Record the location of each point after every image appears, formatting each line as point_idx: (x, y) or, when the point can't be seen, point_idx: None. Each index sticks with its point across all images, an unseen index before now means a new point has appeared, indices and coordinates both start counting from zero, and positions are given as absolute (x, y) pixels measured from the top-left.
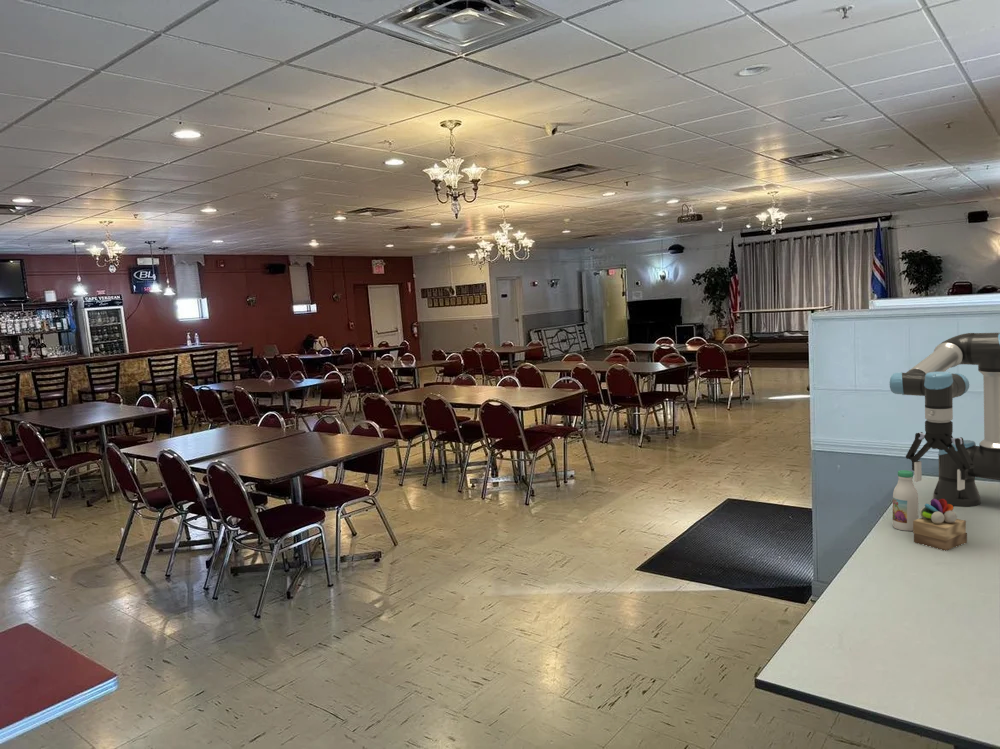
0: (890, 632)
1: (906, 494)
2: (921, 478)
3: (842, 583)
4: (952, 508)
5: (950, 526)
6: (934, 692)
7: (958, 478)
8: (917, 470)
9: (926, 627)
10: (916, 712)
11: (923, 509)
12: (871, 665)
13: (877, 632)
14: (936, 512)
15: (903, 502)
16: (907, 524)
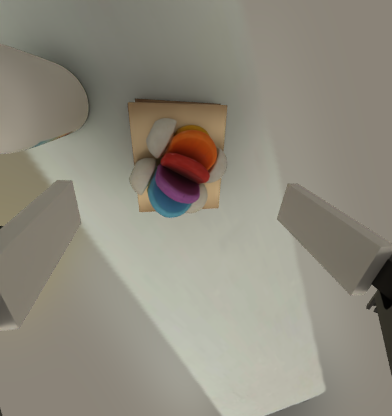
0: (257, 373)
1: (21, 145)
2: (68, 186)
3: (180, 353)
4: (216, 155)
5: (219, 187)
6: (298, 388)
7: (316, 254)
8: (51, 259)
9: (273, 355)
10: (296, 400)
11: (143, 191)
12: (264, 395)
13: (250, 377)
14: (193, 208)
15: (34, 146)
16: (75, 129)
